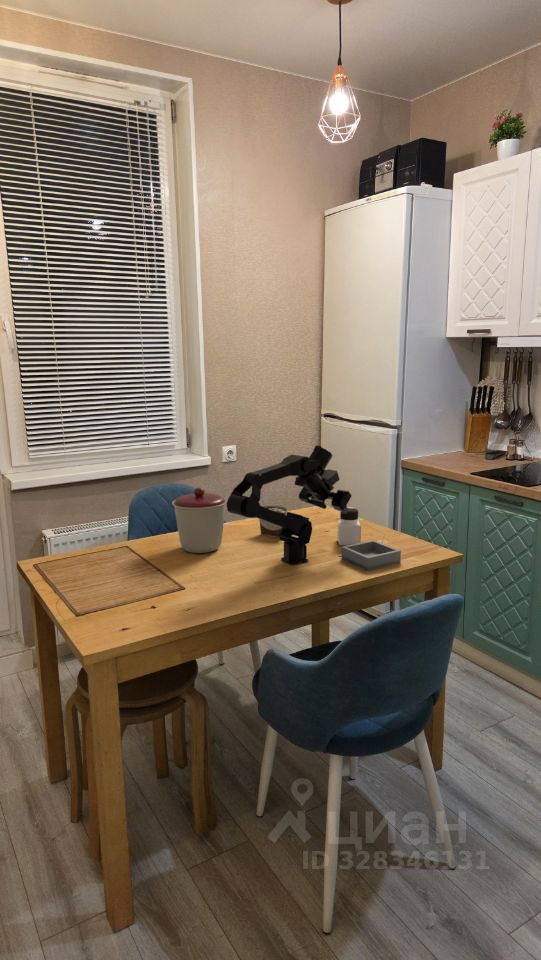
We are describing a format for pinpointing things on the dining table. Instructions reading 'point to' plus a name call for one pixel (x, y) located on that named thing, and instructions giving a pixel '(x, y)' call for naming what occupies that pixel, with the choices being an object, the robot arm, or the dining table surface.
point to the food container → (268, 527)
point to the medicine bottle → (349, 528)
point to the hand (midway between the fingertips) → (336, 510)
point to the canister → (200, 520)
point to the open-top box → (371, 555)
